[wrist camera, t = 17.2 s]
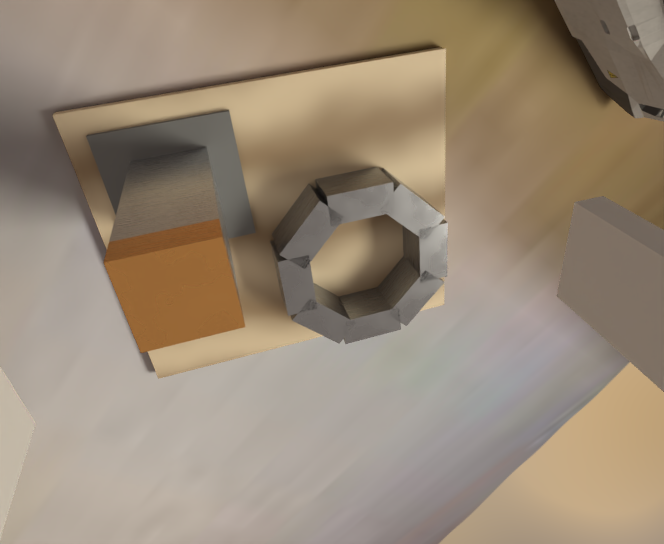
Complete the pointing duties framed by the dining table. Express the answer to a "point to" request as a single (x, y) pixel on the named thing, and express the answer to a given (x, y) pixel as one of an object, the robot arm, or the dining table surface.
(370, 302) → the grey octagonal ring
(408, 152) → the board
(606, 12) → the gun
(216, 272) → the block
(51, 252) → the dining table surface
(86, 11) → the dining table surface
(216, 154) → the pad
